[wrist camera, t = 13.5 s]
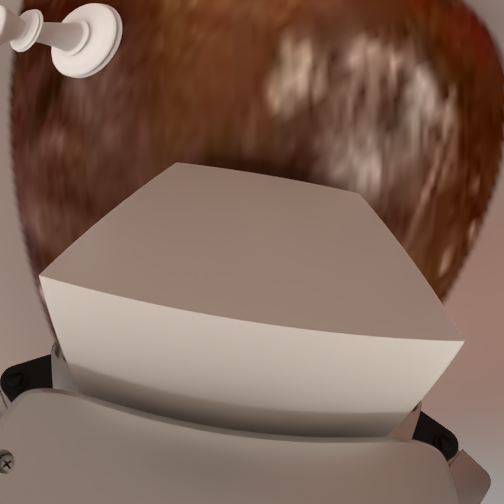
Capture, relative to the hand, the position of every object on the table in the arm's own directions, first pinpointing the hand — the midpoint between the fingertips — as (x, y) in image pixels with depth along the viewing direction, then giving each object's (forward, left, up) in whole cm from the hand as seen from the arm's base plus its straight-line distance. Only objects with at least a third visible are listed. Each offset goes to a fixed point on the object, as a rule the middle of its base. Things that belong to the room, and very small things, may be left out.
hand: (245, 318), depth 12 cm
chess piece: (+4, +16, -7) cm, 18 cm away
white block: (0, 0, -3) cm, 3 cm away
